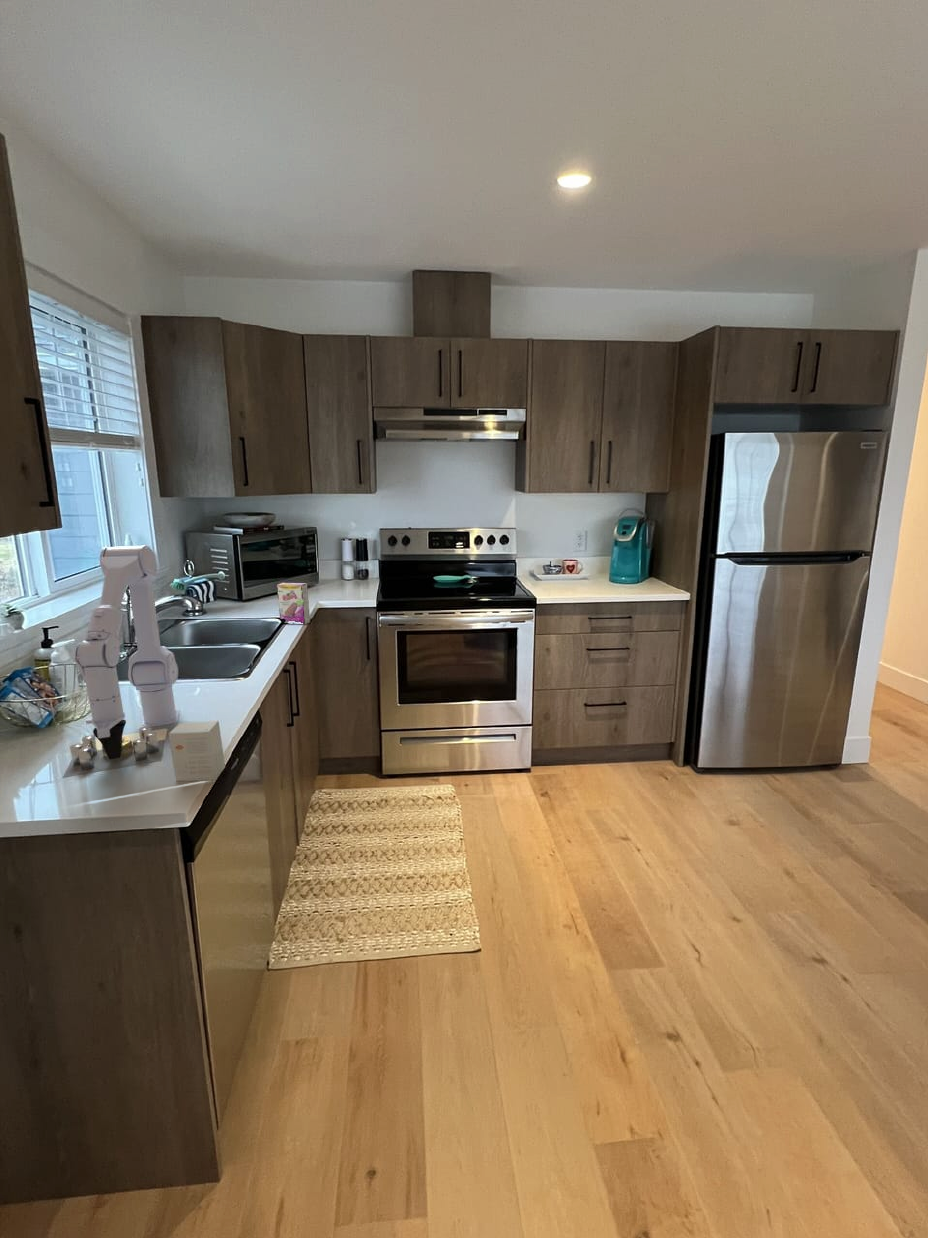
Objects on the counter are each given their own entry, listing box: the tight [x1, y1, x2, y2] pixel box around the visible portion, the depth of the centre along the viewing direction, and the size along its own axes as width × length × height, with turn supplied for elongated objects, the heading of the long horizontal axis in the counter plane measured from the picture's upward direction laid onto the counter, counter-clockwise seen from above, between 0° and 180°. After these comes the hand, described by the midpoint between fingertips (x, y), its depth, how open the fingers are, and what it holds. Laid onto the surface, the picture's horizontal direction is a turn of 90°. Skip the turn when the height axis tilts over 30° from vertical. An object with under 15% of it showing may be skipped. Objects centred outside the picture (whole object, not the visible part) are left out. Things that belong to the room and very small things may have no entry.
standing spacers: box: [69, 727, 159, 770], centre depth 135 cm, size 9×16×4 cm, turn 111°
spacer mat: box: [62, 728, 168, 779], centre depth 138 cm, size 19×18×1 cm
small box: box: [168, 720, 226, 782], centre depth 125 cm, size 8×6×10 cm
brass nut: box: [102, 737, 133, 759], centre depth 136 cm, size 5×6×3 cm
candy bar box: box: [276, 582, 311, 626], centre depth 254 cm, size 11×5×16 cm, turn 77°
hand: (115, 757), depth 132 cm, fingers closed
